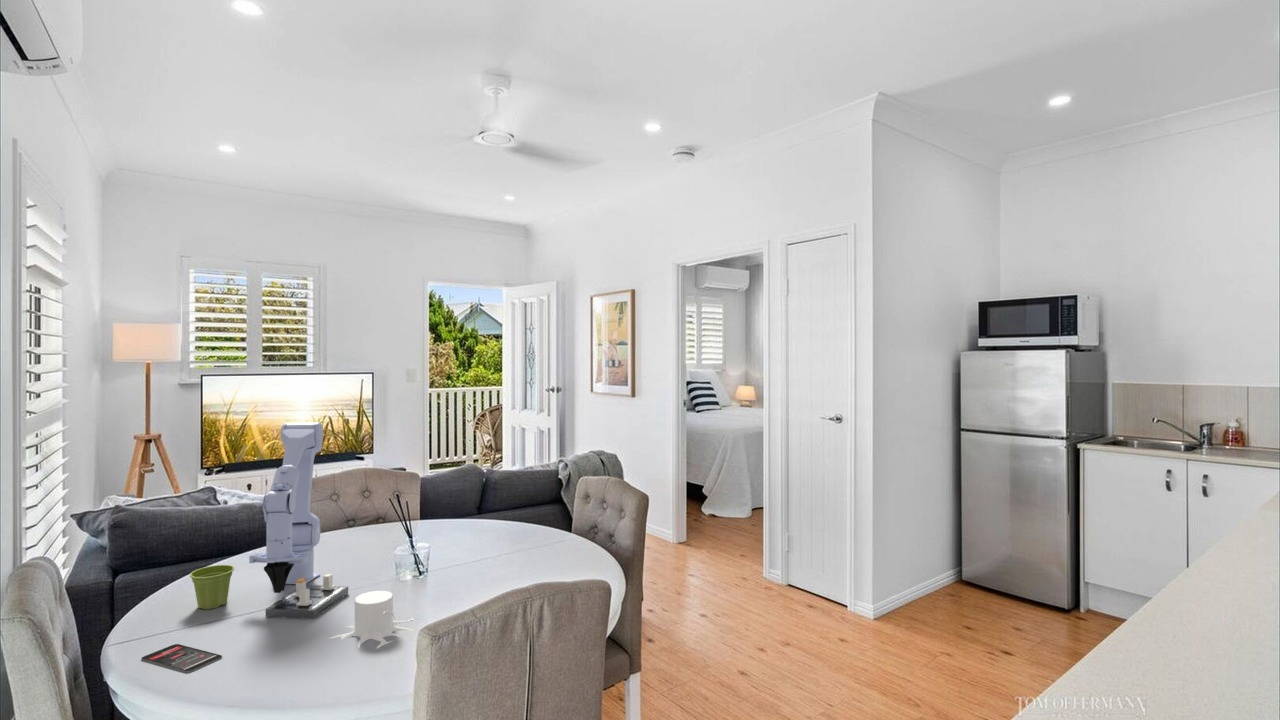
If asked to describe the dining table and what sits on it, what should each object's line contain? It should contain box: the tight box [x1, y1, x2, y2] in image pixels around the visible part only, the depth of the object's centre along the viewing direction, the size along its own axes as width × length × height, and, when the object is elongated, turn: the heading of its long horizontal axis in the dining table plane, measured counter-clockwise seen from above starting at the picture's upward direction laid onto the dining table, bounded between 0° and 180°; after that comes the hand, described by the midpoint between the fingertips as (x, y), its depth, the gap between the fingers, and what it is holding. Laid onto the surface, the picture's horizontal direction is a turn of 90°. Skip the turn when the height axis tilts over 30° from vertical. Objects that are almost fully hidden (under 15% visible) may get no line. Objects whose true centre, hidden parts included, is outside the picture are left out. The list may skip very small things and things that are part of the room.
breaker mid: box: [293, 578, 307, 597], centre depth 161 cm, size 3×2×4 cm
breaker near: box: [296, 589, 313, 606], centre depth 156 cm, size 3×2×3 cm
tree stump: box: [329, 590, 415, 650], centre depth 147 cm, size 20×19×8 cm
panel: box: [265, 584, 349, 619], centre depth 161 cm, size 12×16×2 cm
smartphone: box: [141, 643, 223, 674], centre depth 133 cm, size 7×1×15 cm
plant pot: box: [189, 564, 235, 610], centre depth 161 cm, size 9×9×9 cm
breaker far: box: [320, 573, 336, 590], centre depth 166 cm, size 3×2×3 cm
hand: (279, 591), depth 162 cm, fingers closed
